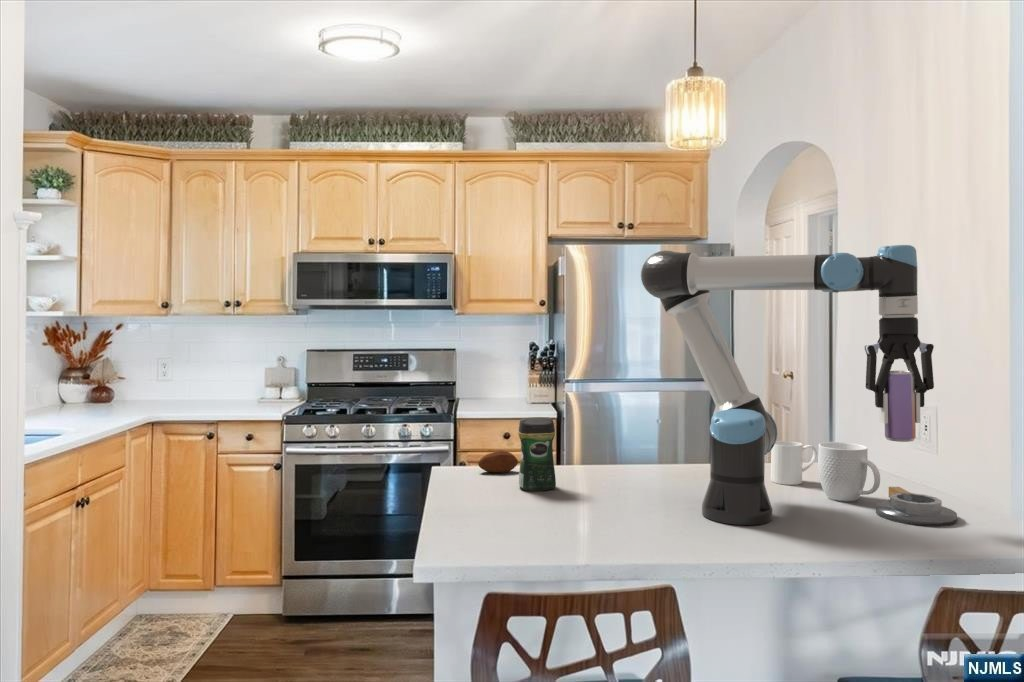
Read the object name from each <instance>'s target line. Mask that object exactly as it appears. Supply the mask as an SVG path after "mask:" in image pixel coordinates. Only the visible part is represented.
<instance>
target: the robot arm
mask: <svg viewBox="0 0 1024 682" xmlns="http://www.w3.org/2000/svg"><path fill="white" fill-rule="evenodd" d="M917 256H918V255H917V249H916V248H915V246H914V245H911V244H895V245H885V246H881V247H879V248H878V249H877V253H876V255H873V256H865V257H864V256H862V257H861V256H860V257H856V255H854V254H851V253H848V252H836V253H834V254H833V253H832V254H828V253H827V254H786V255H783V254H782V255H781V254H780V255H774V254H773V255H739V256H737V255H734V256H732V255H730V256H727V255H726V256H699V255H698V254H697V253H696V252H679V251H678V252H677V251H673V250H660V251H657V252H655V253H652V254H650V256H649V257H648V258H646V260H645V262H643V265H642V267H641V269H640V270H641V271H640V279H641V284H642V286H643V288H644V289H645V291H646V292H647V293H648V294H650V295H651V296H653V297H655V298H657V299H659V300H660V302H661V304H662V307H663V309H664V311H665V313H666V314H667V315H668V316H672V317H674V318H675V320H676V322H677V324H678V327H679V329H680V331H681V333H682V336H683V338H684V339H685V341H686V344H687V346H688V348H689V351H690V352H691V354H692V358H693V359H694V361H695V364H696V365H697V368H698V369H699V372H700V375H701V376H702V379H703V381H704V383H705V385H706V388H707V389H708V392H709V393H710V396H711V398H712V401H713V402H714V404H715V407H714V411H713V413H712V416H711V420H710V425H709V433H710V456H709V457H710V459H709V460H710V461H709V462H710V464H709V465H710V470H709V471H710V474H709V477H710V478H709V479H710V480H709V483H708V485H707V489H706V491H705V495H704V498H703V500H702V504H701V514H702V516H703V517H704V518H707V519H708V520H711V521H713V522H716V523H717V522H718V523H723V524H727V525H738V526H755V525H756V526H757V525H758V526H759V525H764V524H768V523H770V522H772V520H773V507H772V503H771V501H770V497H769V495H768V491H767V488H766V485H765V466H766V464H765V461H766V460H765V458H766V455H768V453H770V452H771V449H772V448H773V447H774V445H775V442H776V441H777V438H778V427H777V423H776V421H775V419H774V418H773V416H772V415H771V414H770V413H769V411H767V410H766V409H765V407H764V405H763V403H762V400H761V399H760V397H759V395H757V394H755V393H752V392H751V391H750V390H749V388H748V386H747V384H746V382H745V379H744V378H743V375H742V373H741V371H740V369H739V367H738V365H737V362H736V361H735V359H734V356H733V354H732V353H731V350H730V348H729V346H728V343H727V341H726V339H725V337H724V335H723V332H722V330H721V329H720V327H719V325H718V322H717V321H716V318H715V316H714V314H713V311H712V309H711V308H710V305H709V302H708V301H709V300H710V297H711V293H710V291H812V290H813V291H822V292H823V293H835V294H837V293H844V292H845V293H846V292H863V291H878V316H881V317H880V318H879V319H878V331H879V333H878V334H879V336H878V337H879V338H878V339H877V342H875V343H873V344H866V345H864V352H865V354H866V367H865V369H866V371H865V389H867V390H869V391H872V392H874V405H875V408H879V422H880V423H883V424H885V423H888V394H887V393H884V389H885V386H886V383H887V379H888V376H889V372H890V371H892V370H891V369H892V366H893V364H894V362H895V361H896V360H903V362H904V363H905V365H906V368H907V371H909V372H914V373H913V374H914V376H915V424H921V408H925V393H926V392H928V391H930V390H933V389H934V388H935V382H934V372H933V371H934V370H933V369H934V368H933V358H932V354H933V351H934V347H935V345H934V344H933V343H926V342H921V340H920V339H919V318H918V317H915V315H918V313H919V310H918V308H919V307H918V303H919V302H918V260H917ZM918 349H919V352H920V363H921V373H920V370H919V368H918V365H917V359H916V356H915V352H916V351H918ZM879 350H880V351H881V352H882V353H883V355H882V356H883V357H882V360H881V366H880V368H879V372H878V375H877V358H878V357H877V355H878V352H879ZM921 375H922V376H921Z"/></svg>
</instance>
